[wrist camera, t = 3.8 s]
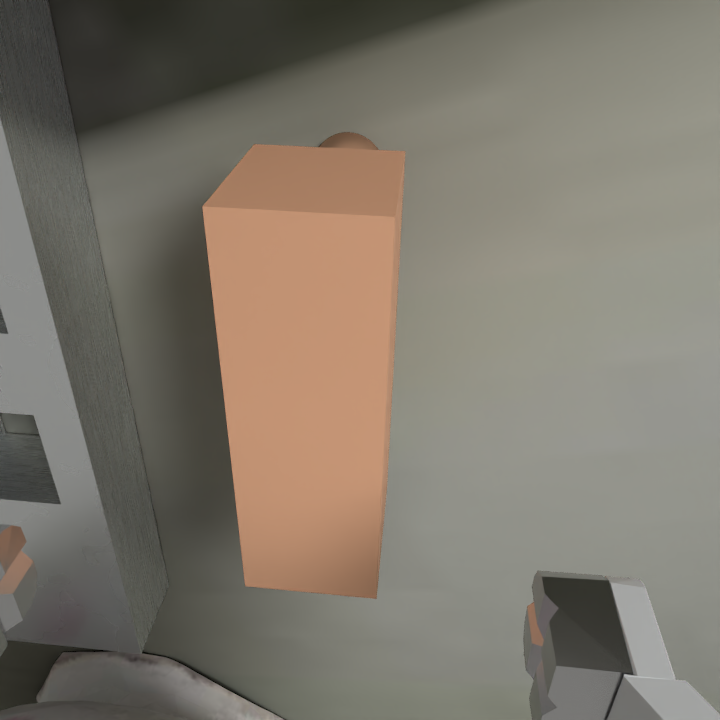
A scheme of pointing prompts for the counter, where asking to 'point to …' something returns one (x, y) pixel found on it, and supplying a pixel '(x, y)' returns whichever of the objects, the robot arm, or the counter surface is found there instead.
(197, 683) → the ceramic pitcher
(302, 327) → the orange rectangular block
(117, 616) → the rail
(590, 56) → the counter surface
